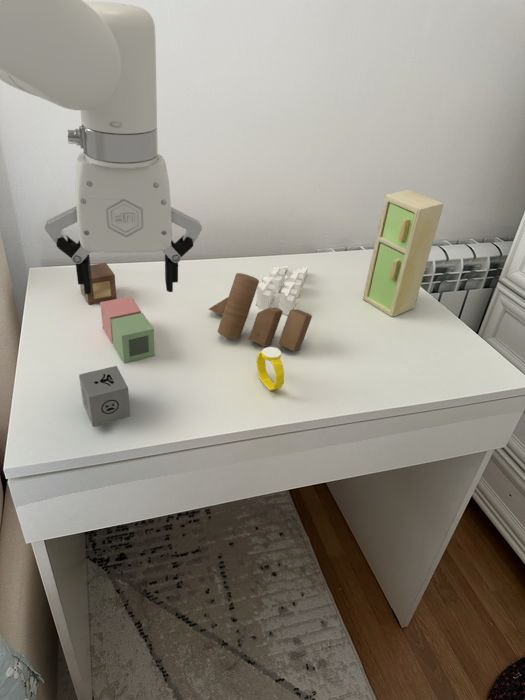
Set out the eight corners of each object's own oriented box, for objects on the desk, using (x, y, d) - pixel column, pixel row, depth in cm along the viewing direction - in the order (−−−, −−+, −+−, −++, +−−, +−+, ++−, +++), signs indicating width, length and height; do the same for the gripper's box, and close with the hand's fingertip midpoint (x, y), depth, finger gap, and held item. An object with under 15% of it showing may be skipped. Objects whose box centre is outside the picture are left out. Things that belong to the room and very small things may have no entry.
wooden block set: (300, 357, 91) (322, 300, 88) (281, 363, 83) (303, 301, 80) (214, 317, 97) (231, 263, 94) (188, 320, 89) (206, 261, 86)
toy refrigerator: (358, 299, 104) (382, 194, 92) (383, 291, 108) (409, 188, 96) (389, 318, 99) (418, 210, 87) (414, 309, 103) (445, 203, 91)
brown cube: (88, 305, 94) (86, 279, 91) (80, 291, 97) (77, 266, 94) (116, 299, 96) (115, 274, 93) (108, 286, 99) (105, 262, 96)
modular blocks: (290, 316, 97) (293, 297, 94) (254, 308, 98) (256, 289, 96) (310, 270, 113) (313, 253, 110) (279, 263, 114) (281, 246, 111)
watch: (286, 394, 79) (291, 362, 75) (270, 398, 77) (274, 366, 74) (266, 370, 83) (270, 339, 79) (251, 375, 82) (254, 343, 78)
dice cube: (130, 416, 72) (128, 387, 69) (92, 426, 70) (88, 397, 67) (118, 393, 75) (116, 365, 72) (82, 403, 73) (79, 374, 70)
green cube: (124, 363, 81) (122, 336, 78) (113, 345, 85) (111, 319, 82) (155, 355, 83) (154, 329, 80) (143, 338, 87) (142, 312, 84)
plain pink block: (112, 344, 85) (110, 317, 82) (102, 328, 88) (100, 301, 85) (142, 337, 87) (141, 311, 84) (132, 321, 91) (130, 296, 88)
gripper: (27, 151, 51) (51, 305, 61) (208, 157, 55) (203, 301, 65) (36, 130, 57) (57, 274, 67) (199, 137, 61) (196, 272, 70)
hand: (129, 287), depth 66 cm, fingers open, 9 cm apart
